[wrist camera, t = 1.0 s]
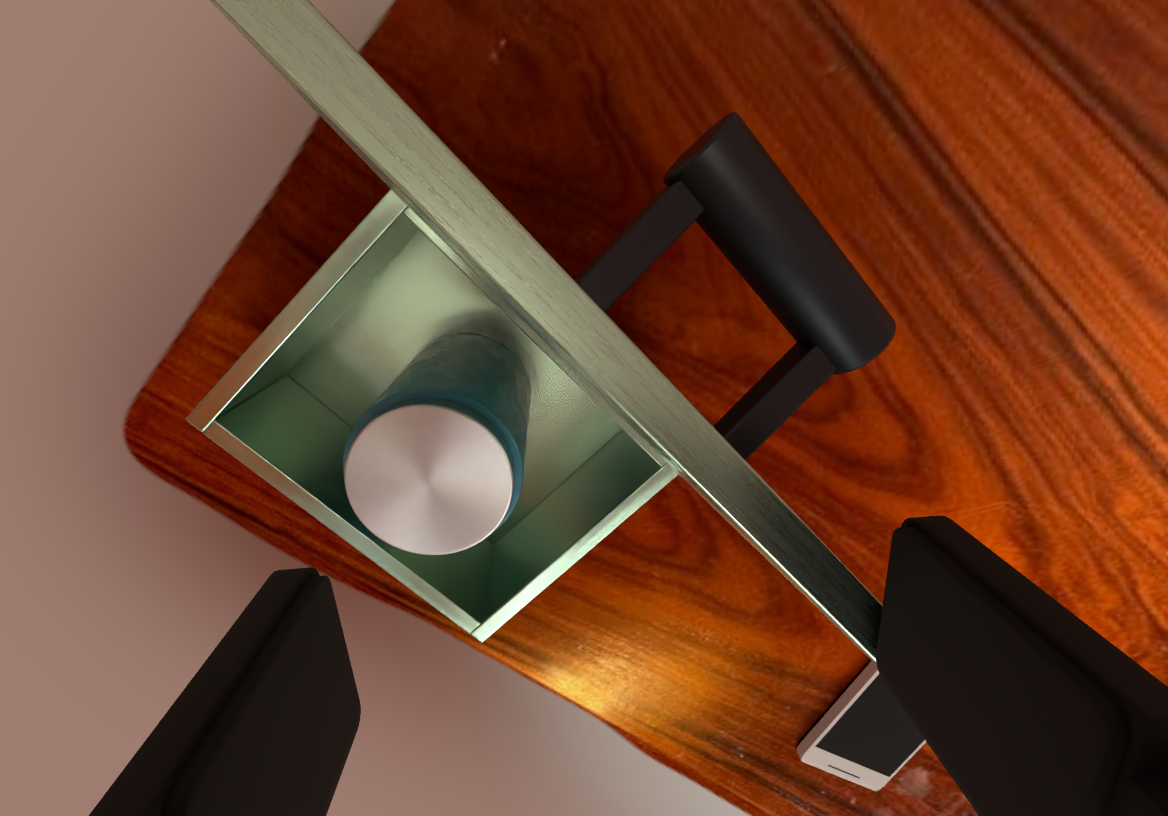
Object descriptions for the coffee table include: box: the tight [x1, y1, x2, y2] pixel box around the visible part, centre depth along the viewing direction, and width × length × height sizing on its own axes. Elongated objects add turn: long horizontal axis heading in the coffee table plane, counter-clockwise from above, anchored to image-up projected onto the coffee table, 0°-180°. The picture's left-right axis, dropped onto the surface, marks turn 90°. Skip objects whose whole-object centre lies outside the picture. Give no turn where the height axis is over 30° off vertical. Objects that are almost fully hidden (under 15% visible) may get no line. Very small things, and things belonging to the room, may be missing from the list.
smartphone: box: [797, 661, 926, 791], centre depth 38 cm, size 7×16×1 cm, turn 151°
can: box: [343, 334, 531, 555], centre depth 24 cm, size 6×6×10 cm
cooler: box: [186, 189, 679, 642], centre depth 27 cm, size 13×16×7 cm
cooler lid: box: [210, 0, 896, 665], centre depth 15 cm, size 14×16×5 cm
